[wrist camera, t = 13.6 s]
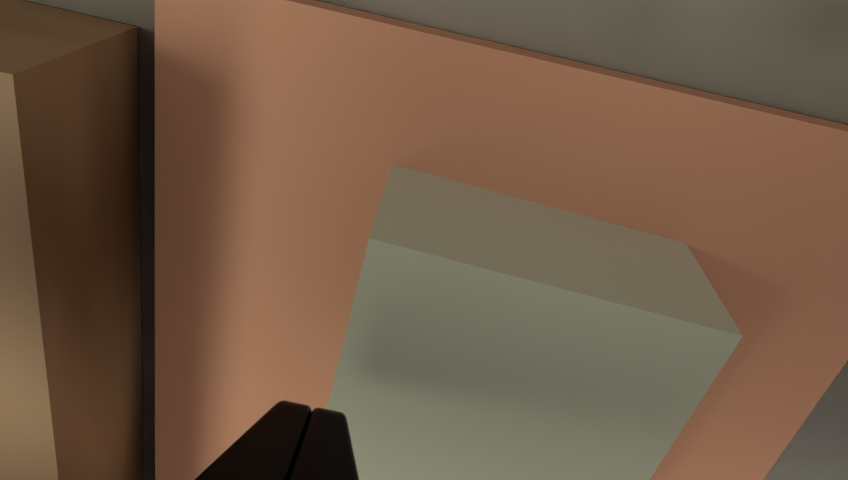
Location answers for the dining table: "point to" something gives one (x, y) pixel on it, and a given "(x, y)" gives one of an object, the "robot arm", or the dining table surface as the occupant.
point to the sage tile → (520, 340)
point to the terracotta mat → (475, 165)
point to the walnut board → (69, 247)
